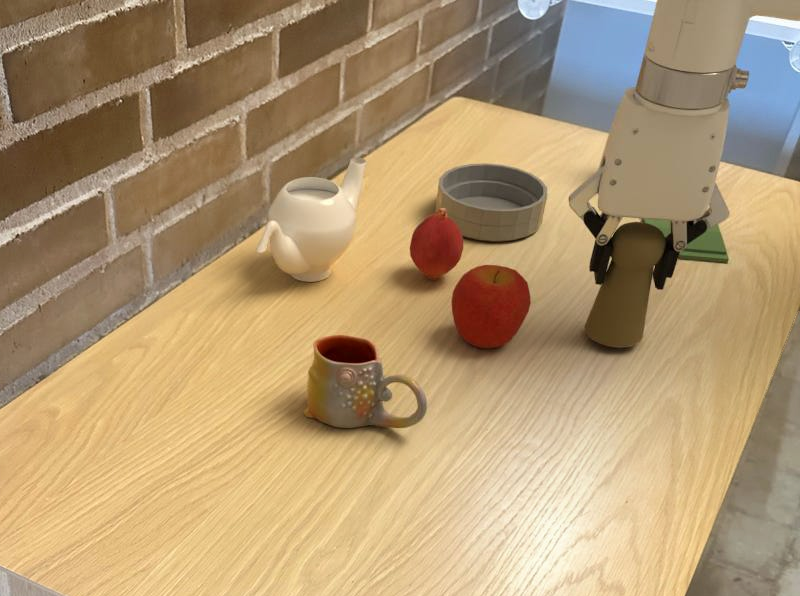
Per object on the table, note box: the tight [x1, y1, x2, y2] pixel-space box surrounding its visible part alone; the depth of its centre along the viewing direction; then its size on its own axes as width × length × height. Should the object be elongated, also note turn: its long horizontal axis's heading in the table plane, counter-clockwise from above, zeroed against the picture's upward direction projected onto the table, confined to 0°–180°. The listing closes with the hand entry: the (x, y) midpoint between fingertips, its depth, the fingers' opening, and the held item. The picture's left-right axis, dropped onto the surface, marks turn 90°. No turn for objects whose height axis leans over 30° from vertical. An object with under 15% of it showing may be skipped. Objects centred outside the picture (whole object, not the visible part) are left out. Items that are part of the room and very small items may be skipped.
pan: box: [434, 162, 548, 243], centre depth 118 cm, size 13×13×4 cm
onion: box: [409, 208, 464, 281], centre depth 106 cm, size 6×6×8 cm
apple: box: [450, 264, 531, 349], centre depth 98 cm, size 8×8×8 cm
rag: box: [642, 219, 730, 264], centre depth 118 cm, size 9×12×1 cm
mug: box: [303, 334, 428, 429], centre depth 88 cm, size 12×7×7 cm, turn 55°
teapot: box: [255, 157, 367, 283], centre depth 106 cm, size 10×20×9 cm, turn 146°
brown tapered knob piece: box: [584, 221, 666, 348], centre depth 97 cm, size 6×6×11 cm
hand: (628, 278), depth 97 cm, fingers closed on brown tapered knob piece, 5 cm apart
